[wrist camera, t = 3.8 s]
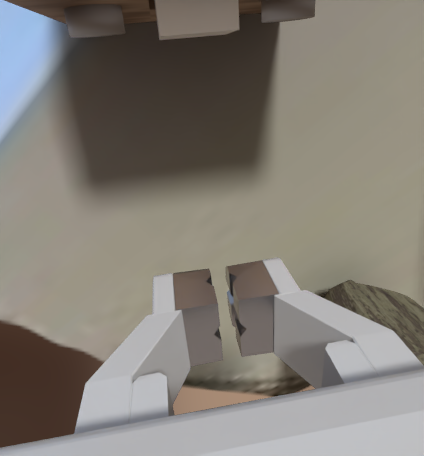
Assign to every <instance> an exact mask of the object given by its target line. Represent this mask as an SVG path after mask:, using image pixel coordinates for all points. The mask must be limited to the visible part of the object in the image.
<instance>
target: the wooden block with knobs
mask: <svg viewBox="0 0 424 456" xmlns="http://www.w3.org/2000/svg"><path fill="white" fill-rule="evenodd" d="M5 1H7V2H10V3H13V4H15V5H18V6H21V7H23V8H26V9H28V10H31V11H34V12H36V13H39V14H42V15H44V16H47V17H50V18H52V19H55V20H57V21H60V22H63V23H65V24H67V27H68V32H69V36H70V37H72V38H87V37H102V36H113V35H120V34H125V33H126V32H125V26H124V24H128V23H140V22H153V21H157V18H156V10H155V3H154V0H5ZM238 5H239V15H240V14H253V13H261V17H262V22H263V23H269V22H283V21H293V20H300V19H307V18H312V17H314V16H315V0H238Z"/></svg>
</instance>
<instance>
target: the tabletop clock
mask: <svg viewBox="0 0 424 456" xmlns="http://www.w3.org/2000/svg"><path fill="white" fill-rule="evenodd" d="M324 299H326V300H328V301H331V302H333V303H335V304H337V305H339V306H341V307H343V308H346V309H348V310H350V311H352V312H354V313H356V314H358V315H361V316H363V317H365V318H367V319H369V320H371V321H373V322H376V323H378V324H380V325H382V326H384V327H386V328H388V329H391V330H393V331H394V332H395V333H396V334H397V336H398V337H399V338H400V339H401V340H402V341H403V342H404V344H405V345H406V346H407V347H408V348H409V349H410V350H411V352H412V353H413V354H414V355H415V356H416V357H417V359H418V360H419V361H420V362H421V363H422V364H423V365H424V308H423V307H421V306H420V305H419V304H418V303H416V302H415V301H414V300H412V299H411V298H409V297H408V296H405V295H403V294H400V293H397V292H394V291H390V290H386V289H382V288H378V287H374V286H369V285H364V284H358V283H355V282H354V281H352V280H349V281H347V282H343V283H341V284H339V285H337V286H335V287H333V288H331V289H329V291H328V292H327V294H326V296H325V298H324Z"/></svg>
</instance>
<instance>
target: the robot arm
mask: <svg viewBox="0 0 424 456" xmlns="http://www.w3.org/2000/svg"><path fill="white" fill-rule="evenodd" d="M226 281H227V284H228V288H229V290H228V292H227V298H228V306H229V313H230V317H231V321H232V325H233V326H234V327H235V329H236V339H237V342H238V346H239V349H240V353H241V356H242V357H244V356H250V355H257V354H264V353H271V352H274V354H275V355H276V356H277V357H279V358H280V359H281V360H282V361H283V362H285V363H286V364H287V365H288V366H289V367H291V368H292V369H293V370H294V371H295V372H296V373H298V374H299V375H300V376H301V377H302V378H304V379H305V380H306V381H307V382H308V383H310V384H311V385H312V386H313V387H314V388H315V389H313V390H308V391H302V392H297V393H292V394H286V395H281V396H276V397H270V398H265V399H260V400H255V401H249V402H244V403H238V404H233V405H228V406H222V407H217V408H212V409H206V410H201V411H196V412H190V413H185V414H180V415H174V411H173V403H174V401H175V399H176V397H177V395H178V393H179V391H180V389H181V387H182V385H183V383H184V381H185V379H186V377H187V375H188V373H189V371H190V369H191V366H196V365H201V364H206V363H211V362H216V361H220V360H223V356H222V343H221V337H220V332H219V326H220V321H219V312H218V303H217V299H216V294H215V290H214V286H212V281H211V274H210V270H209V269H201V270H194V271H186V272H178V273H173V274H172V273H169V274H163V275H157V276H154V278H153V314H152V315H147V316H146V317H145V318H144V319H143V320H142V321H141V323H140V324H139V325H138V326H137V327H136V328H135V329H134V330H133V331H132V333H131V334H130V335H129V336H128V337H127V338H126V339H125V340H124V341H123V343H122V344H121V345H120V346H119V347H118V348H117V349H116V350H115V351H114V353H113V354H112V355H111V356H110V357H109V358H108V359H107V360H106V361H105V363H104V364H103V365H102V366H101V367H100V368H99V369H98V370H97V372H96V373H95V374H94V375H93V376H92V377H91V378H90V379H89V380H88V382H87V383H86V384H85V389H84V393H83V397H82V402H81V407H80V411H79V415H78V420H77V425H76V429H75V433H74V434H73V435H67V436H62V437H57V438H51V439H46V440H40V441H35V442H30V443H24V444H19V445H13V446H9V447H3V448H0V456H424V365H423V364H422V363H421V362H420V361H419V360H418V359H417V357H416V356H415V355H414V354H413V353H412V352H411V350H410V349H409V348H408V347H407V346H406V345H405V344H404V342H403V341H402V340H401V339H400V338H399V337H398V336H397V334H396V333H395V332H394V331H393V330H391V329H388V328H386V327H384V326H382V325H380V324H378V323H376V322H373V321H371V320H369V319H367V318H365V317H363V316H361V315H358V314H356V313H354V312H352V311H350V310H348V309H346V308H343V307H341V306H339V305H337V304H335V303H333V302H331V301H328V300H326V299H324V298H322V297H320V296H318V295H316V294H314V293H311V292H309V291H307V290H304V291H301V290H300V288H299V287H298V285H297V284H296V282H295V281H294V279H293V277H292V276H291V274H290V273H289V271H288V269H287V268H286V266H285V265H284V263H283V262H282V260H281V259H280V258H278V257H277V258H271V259H266V260H261V261H256V262H250V263H244V264H238V265H232V266H226Z"/></svg>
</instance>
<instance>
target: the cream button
mask: <svg viewBox="0 0 424 456" xmlns="http://www.w3.org/2000/svg"><path fill="white" fill-rule="evenodd" d="M154 3H155V10H156V18H157V26H158V33H159V40H168V39H179V38H191V37H203V36H215V35H226V34H229V33H231V32H234V31H237V30H239V5H238V0H154Z"/></svg>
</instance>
